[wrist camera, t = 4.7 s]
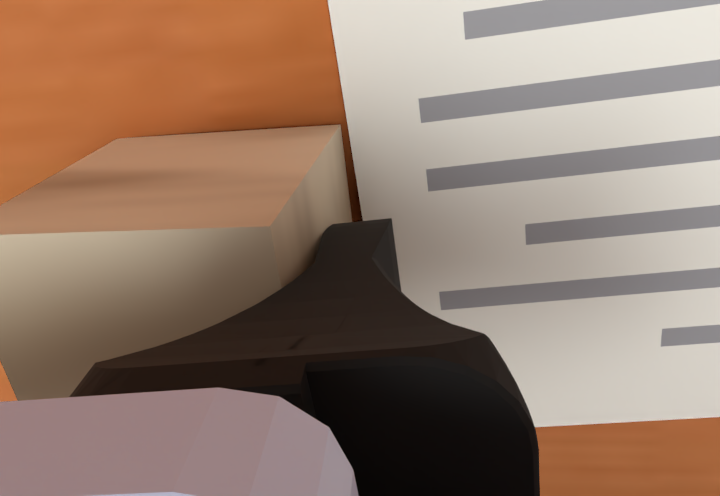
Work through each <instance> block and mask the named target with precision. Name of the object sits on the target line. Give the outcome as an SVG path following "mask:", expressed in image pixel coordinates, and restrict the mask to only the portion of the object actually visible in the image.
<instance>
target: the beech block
mask: <svg viewBox="0 0 720 496" xmlns="http://www.w3.org/2000/svg"><path fill="white" fill-rule="evenodd" d="M348 222H352V215H351V207H350V199H349V190H348V182H347V174H346V165H345V157H344V149H343V140H342V132H341V124H340V125H324V126H308V127H292V128H276V129H260V130H244V131H228V132H212V133H196V134H180V135H164V136H148V137H132V138H119V139H116V140H114V141H112V142H110V143H109V144H107V145H105V146H103V147H102V148H100V149H98V150H96V151H95V152H93V153H91V154H89V155H88V156H86V157H84V158H82V159H81V160H79V161H77V162H75V163H74V164H72V165H70V166H68V167H67V168H65V169H63V170H61V171H60V172H58V173H56V174H54V175H53V176H51V177H49V178H47V179H46V180H44V181H42V182H40V183H39V184H37V185H35V186H33V187H32V188H30V189H28V190H26V191H25V192H23V193H21V194H19V195H18V196H16V197H14V198H12V199H11V200H9V201H7V202H5V203H4V204H2V205H0V361H1V363H2V366H3V368H4V370H5V372H6V375H7V377H8V379H9V382H10V384H11V386H12V388H13V391H14V393H15V395H16V397H17V400H18V401H22V400H37V399H52V398H67V397H69V396H70V395H71V394H72V392H73V391H74V390H75V388H76V387H77V386H78V385H79V383H80V382H81V381H82V379H83V378H84V377H85V375H86V374H87V373H88V371H89V370H90V369H91V367H92V366H93V365H94V364H95V363H96V362H100V361H105V360H109V359H112V358H116V357H120V356H123V355H127V354H131V353H134V352H138V351H142V350H145V349H149V348H153V347H156V346H159V345H162V344H165V343H168V342H171V341H174V340H177V339H180V338H182V337H185V336H188V335H191V334H193V333H196V332H198V331H201V330H203V329H206V328H208V327H211V326H213V325H215V324H218V323H220V322H222V321H224V320H226V319H228V318H230V317H232V316H234V315H236V314H238V313H240V312H242V311H244V310H246V309H248V308H250V307H252V306H254V305H256V304H257V303H259V302H261V301H262V300H264V299H266V298H267V297H269V296H271V295H272V294H274V293H275V292H277V291H279V290H280V289H281V288H283V287H284V286H286V285H287V284H289V283H290V282H291V281H293V280H294V279H296V278H297V277H298V276H299V275H300V274H302V273H303V272H304V271H305V270H307V269H308V268H309V267H310V266H311V265H313V264H314V263H315V260H316V256H317V252H318V248H319V244H320V241H321V237H322V234H323V233H324V231H325V230H326V229H327V228H328V227H329V226H331V225H332V224H338V223H348Z"/></svg>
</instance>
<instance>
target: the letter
mask: <svg viewBox="0 0 720 496" xmlns="http://www.w3.org/2000/svg"><path fill="white" fill-rule="evenodd" d="M328 6H329V12H330V18H331V24H332V31H333V37H334V43H335V50H336V56H337V62H338V68H339V75H340V81H341V87H342V93H343V100H344V106H345V112H346V119H347V125H348V131H349V137H350V144H351V150H352V156H353V162H354V169H355V175H356V181H357V188H358V194H359V200H360V206H361V213H362V219H363V221H368V220H378V219H388V218H392V225H393V233H394V240H395V248H396V255H397V263H398V270H399V278H400V285H401V292H402V293H403V294H404V295H405V296H406V297H408V298H409V299H410V300H411V301H412V302H413V303H415V304H416V305H417V306H419V307H420V308H422V309H423V310H425V311H426V312H428V313H430V314H432V315H434V316H436V317H438V318H440V319H442V320H444V321H446V322H449V323H451V324H454V325H457V326H461V327H464V328H467V329H471V330H474V331H477V332H481V333H484V334H485V335H487V336H488V337H489V338H490V340H491V341H492V343H493V344H494V346H495V347H496V349H497V350H498V352H499V354H500V355H501V357H502V358H503V360H504V362H505V363H506V365H507V367H508V369H509V370H510V372H511V374H512V376H513V377H514V379H515V381H516V383H517V385H518V387H519V389H520V391H521V393H522V396H523V398H524V400H525V402H526V405H527V407H528V409H529V412H530V415H531V417H532V420H533V423H534V427H549V426H566V425H584V424H602V423H620V422H638V421H656V420H674V419H692V418H710V417H720V0H328Z"/></svg>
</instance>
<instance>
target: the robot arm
mask: <svg viewBox="0 0 720 496" xmlns="http://www.w3.org/2000/svg"><path fill="white" fill-rule="evenodd" d="M0 496H540V485H539V449H538V441H537V435H536V430H535V427H534V423H533V420H532V417H531V415H530V412H529V409H528V407H527V405H526V402H525V400H524V398H523V396H522V393H521V391H520V389H519V387H518V385H517V383H516V381H515V379H514V377H513V376H512V374H511V372H510V370H509V369H508V367H507V365H506V363H505V362H504V360H503V358H502V357H501V355H500V354H499V352H498V350H497V349H496V347H495V346H494V344H493V343H492V341H491V340H490V338H489V337H488V336H487V335H485V334H484V333H481V332H477V331H474V330H471V329H467V328H464V327H461V326H457V325H454V324H451V323H449V322H446V321H444V320H442V319H440V318H438V317H436V316H434V315H432V314H430V313H428V312H426V311H425V310H423V309H422V308H420V307H419V306H417V305H416V304H415V303H413V302H412V301H411V300H410V299H409V298H408V297H406V296H405V295H404V294H403V293H402V292H401V285H400V278H399V270H398V263H397V255H396V248H395V240H394V233H393V225H392V218H388V219H378V220H368V221H358V222H348V223H338V224H332V225H331V226H329V227H328V228H327V229H326V230H325V231H324V233H323V234H322V237H321V241H320V244H319V248H318V252H317V256H316V260H315V263H314V264H313V265H311V266H310V267H309V268H308V269H307V270H305V271H304V272H303V273H302V274H300V275H299V276H298V277H297V278H296V279H294V280H293V281H291V282H290V283H289V284H287V285H286V286H284V287H283V288H281V289H280V290H279V291H277V292H275V293H274V294H272V295H271V296H269V297H267V298H266V299H264V300H262V301H261V302H259V303H257V304H256V305H254V306H252V307H250V308H248V309H246V310H244V311H242V312H240V313H238V314H236V315H234V316H232V317H230V318H228V319H226V320H224V321H222V322H220V323H218V324H215V325H213V326H211V327H208V328H206V329H203V330H201V331H198V332H196V333H193V334H191V335H188V336H185V337H182V338H180V339H177V340H174V341H171V342H168V343H165V344H162V345H159V346H156V347H153V348H149V349H145V350H142V351H138V352H134V353H131V354H127V355H123V356H120V357H116V358H112V359H109V360H105V361H100V362H96V363H95V364H94V365H93V366H92V367H91V369H90V370H89V371H88V373H87V374H86V375H85V377H84V378H83V379H82V381H81V382H80V383H79V385H78V386H77V387H76V388H75V390H74V391H73V392H72V394H71V395H70V396H69V397H67V398H52V399H37V400H22V401H7V402H0Z"/></svg>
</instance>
